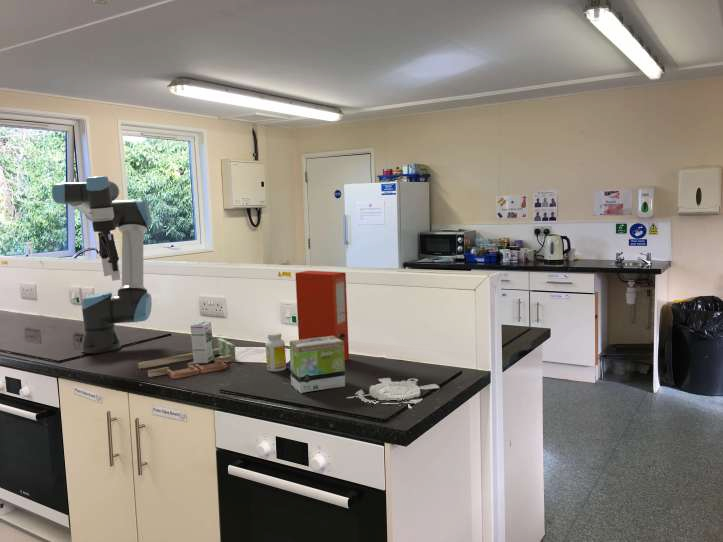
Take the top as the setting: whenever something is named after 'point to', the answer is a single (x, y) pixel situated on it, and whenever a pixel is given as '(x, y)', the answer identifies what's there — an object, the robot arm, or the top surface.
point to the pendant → (394, 391)
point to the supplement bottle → (275, 352)
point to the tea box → (317, 363)
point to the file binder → (322, 306)
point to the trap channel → (193, 368)
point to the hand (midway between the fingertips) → (112, 277)
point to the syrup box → (202, 342)
